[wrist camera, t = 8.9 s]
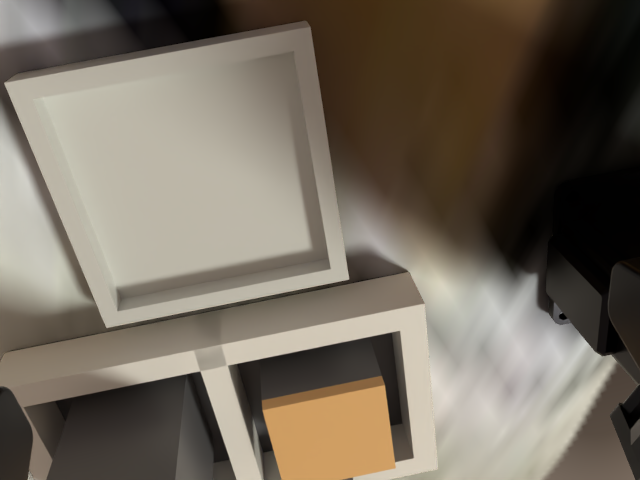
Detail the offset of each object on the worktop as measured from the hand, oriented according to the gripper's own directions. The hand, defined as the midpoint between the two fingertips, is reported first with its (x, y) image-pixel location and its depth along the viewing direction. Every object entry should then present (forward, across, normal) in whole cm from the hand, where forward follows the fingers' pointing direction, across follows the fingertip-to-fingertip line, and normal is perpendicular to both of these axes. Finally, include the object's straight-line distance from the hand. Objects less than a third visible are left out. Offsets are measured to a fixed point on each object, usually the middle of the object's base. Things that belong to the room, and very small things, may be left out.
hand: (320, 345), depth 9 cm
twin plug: (+12, 0, +16) cm, 20 cm away
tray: (+12, +3, +2) cm, 13 cm away
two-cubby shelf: (+12, +4, +12) cm, 18 cm away
